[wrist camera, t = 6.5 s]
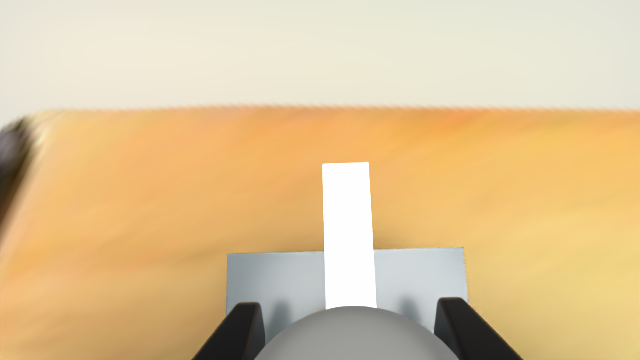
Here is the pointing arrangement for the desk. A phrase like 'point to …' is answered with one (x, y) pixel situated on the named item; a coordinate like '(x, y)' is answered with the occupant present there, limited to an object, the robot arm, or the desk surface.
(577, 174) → the desk surface
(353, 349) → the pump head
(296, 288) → the gray square socket cube
